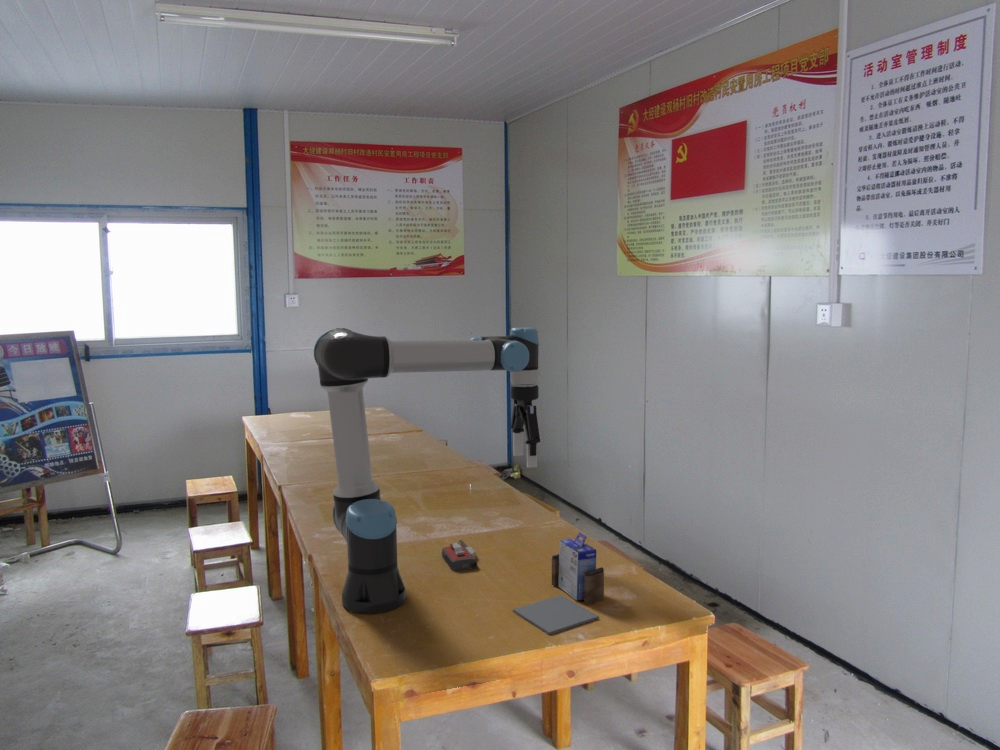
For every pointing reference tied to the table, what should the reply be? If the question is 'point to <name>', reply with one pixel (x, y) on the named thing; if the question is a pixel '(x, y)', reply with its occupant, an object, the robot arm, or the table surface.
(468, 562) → the walkie-talkie
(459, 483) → the table surface
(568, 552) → the ink cartridge box
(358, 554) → the robot arm
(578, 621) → the grey mat
